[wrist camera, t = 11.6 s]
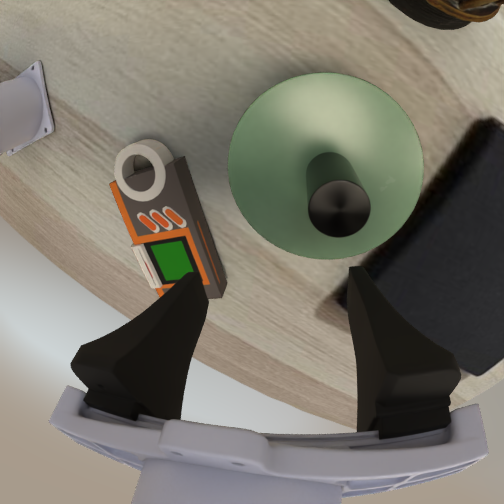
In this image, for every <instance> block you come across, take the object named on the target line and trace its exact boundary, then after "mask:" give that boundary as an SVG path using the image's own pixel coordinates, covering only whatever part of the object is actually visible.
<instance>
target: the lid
mask: <svg viewBox="0 0 504 504" xmlns="http://www.w3.org/2000/svg"><path fill="white" fill-rule="evenodd" d="M423 175H424V160H423V153H422V147H421V144H420V140H419V137H418V134H417V132H416V130H415V128H414V125H413V124H412V122H411V120H410V119H409V117H408V115H407V114H406V113H405V111H404V110H403V109H402V108H401V107H400V105H399V104H398V103H397V102H396V101H395V100H394V99H393V98H391V97H390V96H389V95H388V94H387V93H385V92H384V91H383V90H381V89H380V88H378V87H377V86H375V85H373V84H371V83H369V82H367V81H365V80H362V79H359V78H356V77H353V76H350V75H345V74H340V73H328V72H318V73H310V74H304V75H300V76H296V77H292V78H290V79H287V80H285V81H283V82H280V83H278V84H277V85H275V86H273V87H272V88H270V89H268V90H267V91H265V92H264V93H263V94H262V95H261V96H259V97H258V98H257V99H256V100H255V101H254V102H253V103H252V104H251V105H250V107H249V108H248V109H247V110H246V111H245V113H244V114H243V116H242V118H241V119H240V121H239V122H238V125H237V127H236V129H235V131H234V133H233V136H232V140H231V143H230V147H229V154H228V176H229V183H230V187H231V191H232V194H233V197H234V199H235V201H236V204H237V206H238V208H239V209H240V211H241V213H242V215H243V216H244V217H245V219H246V220H247V221H248V223H249V224H250V225H251V226H252V227H253V228H254V229H255V230H256V231H257V232H258V233H259V234H260V235H261V236H262V237H264V238H265V239H266V240H267V241H269V242H270V243H272V244H274V245H275V246H277V247H279V248H281V249H283V250H285V251H287V252H290V253H293V254H296V255H298V256H303V257H307V258H313V259H341V258H347V257H352V256H356V255H359V254H362V253H365V252H367V251H369V250H371V249H373V248H375V247H377V246H379V245H380V244H382V243H383V242H385V241H386V240H388V239H389V238H390V237H391V236H393V235H394V234H395V233H396V232H397V231H398V230H399V229H400V228H401V227H402V225H403V224H404V223H405V222H406V220H407V219H408V218H409V216H410V214H411V213H412V211H413V209H414V207H415V205H416V203H417V200H418V198H419V195H420V191H421V188H422V182H423Z"/></svg>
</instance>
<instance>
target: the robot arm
mask: <svg viewBox="0 0 504 504" xmlns="http://www.w3.org/2000/svg"><path fill="white" fill-rule="evenodd" d="M34 67H35V68H34ZM47 130H48V131H47ZM53 131H54V123H53V119H52V115H51V111H50V107H49V102H48V97H47V93H46V88H45V82H44V77H43V71H42V64H41V62H40V61H36V62H35V63H33V64H32V65H31V66H29V67H28V68H27V69H26V70H24V71H23V72H22V73H21V74H19V75H18V76H17V77H16V78H15V79H12V80H8V81H4V82H1V83H0V155H1V154H3V153H5V152H6V153H7V155H8V156H11V155H13V154H14V153H16V152H18V151H19V150H21V149H23V148H25V147H26V146H28V145H30V144H32V143H33V142H35V141H37V140H39V139H41V138H43V137H45V136H46V135H48V134H50V133H52V132H53ZM208 304H209V301H208V298H207V295H206V292H205V288H204V285H203V282H202V279H201V276H200V273H199V272H187V273H186V274H185V275H184V276H183V277H182V278H181V279H180V280H178V281H177V282H176V283H175V284H174V285H173V286H172V287H171V288H170V289H169V290H168V291H167V292H166V293H165V294H164V295H162V296H161V297H160V298H159V299H158V300H157V301H156V302H154V303H153V304H152V305H151V306H150V307H149V308H147V309H146V310H145V311H144V312H142V313H141V314H140V315H138V316H137V317H136V318H134V319H133V320H131V321H130V322H128V323H126V324H125V325H123V326H122V327H120V328H119V329H117V330H115V331H113V332H111V333H109V334H107V335H105V336H103V337H101V338H99V339H97V340H94V341H92V342H89V343H86V344H84V345H81V347H80V348H79V350H78V352H77V353H76V355H75V357H74V358H73V360H72V362H71V368H72V370H73V372H74V373H75V375H76V376H77V377H78V378H79V379H80V380H81V381H82V382H83V383H84V384H85V385H86V386H87V387H88V392H87V393H85V392H84V391H82V390H79V389H77V388H74V387H71V386H67V387H66V389H65V390H64V392H63V394H62V396H61V398H60V400H59V402H58V404H57V406H56V408H55V410H54V411H53V414H52V416H51V418H50V420H49V423H50V424H52V425H53V426H54V427H55V428H57V429H58V430H59V431H61V432H62V433H64V434H65V435H66V436H68V437H69V438H71V439H72V440H73V441H75V442H76V443H78V444H80V445H83V446H84V447H86V448H89V449H91V450H93V451H95V452H97V453H99V454H102V455H104V456H106V457H108V458H111V459H113V460H115V461H118V462H120V463H122V464H125V465H127V466H130V467H132V468H135V469H138V470H140V471H141V474H140V477H139V480H138V483H137V486H136V490H135V493H134V496H133V499H132V502H131V504H341V499H342V498H345V497H353V496H361V495H368V494H374V493H380V492H386V491H391V490H396V489H400V488H404V487H409V486H413V485H417V484H421V483H425V482H428V481H432V480H435V479H439V478H442V477H446V476H449V475H452V474H456V473H459V472H461V471H463V470H465V469H466V468H468V467H470V466H471V465H473V464H475V463H476V462H478V461H480V460H481V459H483V458H484V457H486V456H487V455H488V453H489V452H488V446H487V441H486V436H485V431H484V426H483V421H482V417H481V412H480V408H479V404H473V405H469V406H466V407H462V408H458V409H455V410H454V411H451V412H449V407H448V406H450V404H451V401H450V397H449V395H450V394H451V393H452V391H453V390H454V389H455V387H456V386H457V385H458V383H459V381H460V379H461V373H460V369H459V366H458V363H457V361H456V359H455V357H454V354H453V353H451V352H449V351H447V350H446V349H444V348H442V347H440V346H439V345H437V344H435V343H434V342H433V341H431V340H430V339H428V338H427V337H425V336H424V335H423V334H421V333H420V332H419V331H418V330H417V329H415V328H414V327H413V326H412V325H410V324H409V323H408V322H407V321H406V320H405V319H404V318H403V317H402V316H401V315H400V314H399V313H398V312H397V311H396V310H395V309H394V307H393V306H392V305H391V304H390V303H389V302H388V300H387V299H386V298H385V297H384V296H383V294H382V293H381V292H380V290H379V289H378V288H377V286H376V285H375V284H374V282H373V281H372V279H371V278H370V276H369V275H368V273H367V272H366V270H365V269H364V268H363V267H362V266H355V267H349V279H348V293H347V307H348V319H349V324H350V329H351V334H352V340H353V345H354V351H355V357H356V365H357V394H358V409H357V432H356V433H340V434H317V435H316V434H312V435H311V434H306V435H305V434H304V435H303V434H300V435H299V434H269V433H257V432H255V431H252V430H247V429H241V428H235V427H226V426H218V425H210V424H203V423H197V422H191V421H185V420H181V410H182V402H183V395H184V390H185V385H186V379H187V375H188V370H189V366H190V362H191V358H192V355H193V352H194V349H195V347H196V344H197V341H198V338H199V336H200V333H201V330H202V327H203V325H204V322H205V319H206V314H207V309H208Z"/></svg>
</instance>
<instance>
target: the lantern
mask: <svg viewBox="0 0 504 504" xmlns="http://www.w3.org/2000/svg"><path fill="white" fill-rule="evenodd" d="M389 1H390V2H391V3H392V4H393V5H394V6H396V7H397V8H398V9H399V10H401V11H402V12H403V13H404V14H406V15H407V16H409V17H410V18H412V19H413V20H415V21H418V22H420V23H422V24H424V25H426V26H429V27H433V28H437V29H441V30H454V29H459V28H462V27H464V26H466V25H468V24H469V23H471V22H484V21H487V20H489V19H491V18H493V17H494V16H495V15H496V14H497V13H498V11H499V8H500V6H501V4H504V0H389Z"/></svg>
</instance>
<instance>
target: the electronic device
mask: <svg viewBox="0 0 504 504" xmlns="http://www.w3.org/2000/svg"><path fill="white" fill-rule="evenodd" d="M137 154H139V155H143V156H145V157H146V158H148V159H149V160H150V161H151V163H152V164H153V166H151V167H148V168H145V169H142V170H139V171H136V172H134V168H133V162H134V158H135V156H136V155H137ZM114 174H115V179H116V180H115V181H113V182H111V183H110V184H109V185H110V188H111V190H112V193H113V195H114V198H115V200H116V203H117V205H118V208H119V210H120V213H121V215H122V217H123V220H124V222H125V225H126V227H127V229H128V231H129V234H130V236H131V238H132V241H133V244H132V245H131V247H132V250H133V252H134V254H135V256H136V258H137V260H138V262H139V264H140V267H141V269H142V271H143V273H144V275H145V277H146V279H147V281H148V283H149V285H150V287H151V288H155V289H156V291H157V293H158V295H159V297H161V296H162V295H164V294H165V293H166V292H167V291H168V290H169V289H170V288H171V287H172V286H173V285H174V284H175V283H176V282H177V281H178V280H180V279H181V278H182V277H183V276H184V275H185V274H186V273H187V272H199V273H200V276H201V279H202V282H203V285H204V288H205V292H206V295H207V298H208V299H216V298H222V296H223V294H224V291H225V289H226V286H227V280H226V278H225V275H224V272H223V269H222V266H221V264H220V261H219V258H218V255H217V252H216V249H215V246H214V244H213V241H212V238H211V235H210V232H209V229H208V226H207V223H206V220H205V217H204V214H203V211H202V208H201V205H200V202H199V199H198V196H197V193H196V190H195V187H194V184H193V181H192V178H191V175H190V172H189V169H188V165H187V162H186V159H185V156H184V157H180V158H177V159H173V157H172V154H171V153H170V151H169V150H168V148H167V147H166V146H165V145H163V144H162V143H160V142H158V141H156V140H152V139H144V140H141V141H138V142H136V143H133V144H131V145H129V146H127V147H125V148H124V149H122V150H121V151H120V153H119V154H118V156H117V158H116V160H115V164H114Z"/></svg>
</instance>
